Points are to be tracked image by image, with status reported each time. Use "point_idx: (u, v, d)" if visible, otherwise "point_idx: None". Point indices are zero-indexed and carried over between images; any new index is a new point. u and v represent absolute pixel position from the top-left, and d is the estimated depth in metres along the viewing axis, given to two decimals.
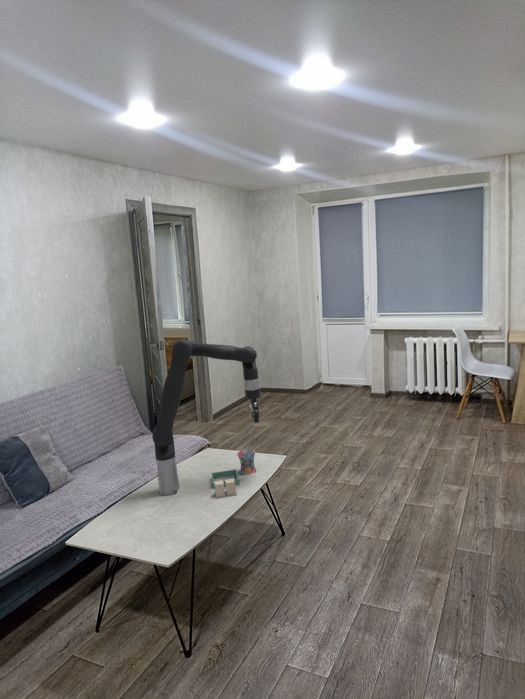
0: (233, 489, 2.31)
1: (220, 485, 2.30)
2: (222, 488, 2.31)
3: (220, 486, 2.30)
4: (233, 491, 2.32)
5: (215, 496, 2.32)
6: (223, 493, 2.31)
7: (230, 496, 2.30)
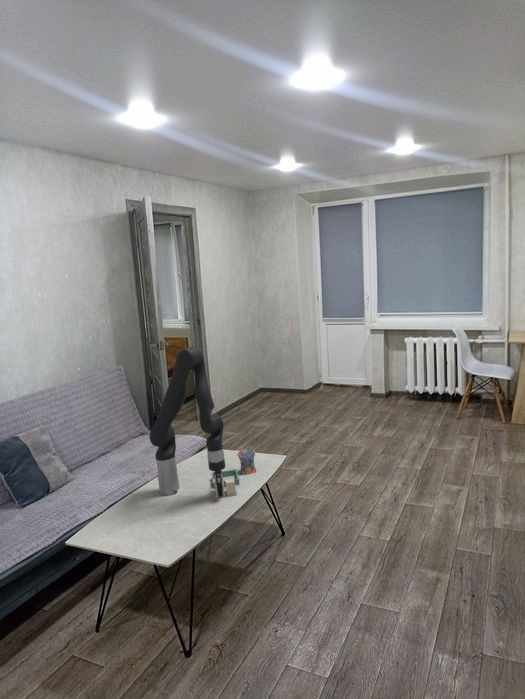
0: (233, 489, 2.31)
1: (220, 485, 2.30)
2: None
3: None
4: (233, 491, 2.32)
5: (215, 496, 2.32)
6: (223, 493, 2.31)
7: (230, 496, 2.30)
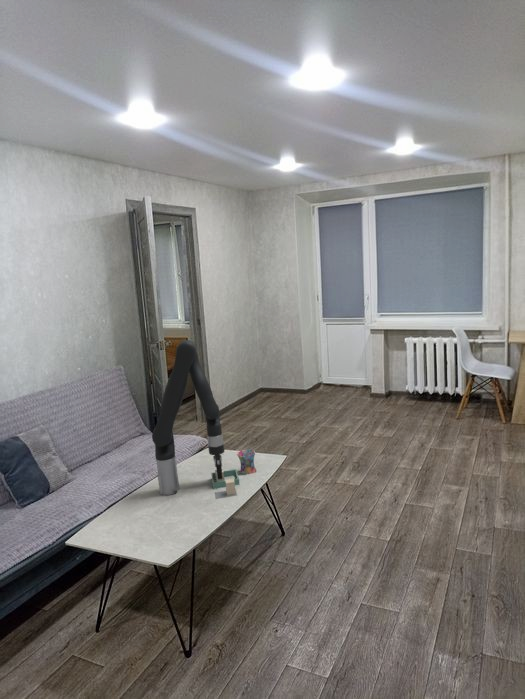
0: (233, 489, 2.31)
1: None
2: (222, 476, 2.45)
3: None
4: (233, 491, 2.32)
5: (215, 496, 2.32)
6: None
7: (230, 496, 2.30)
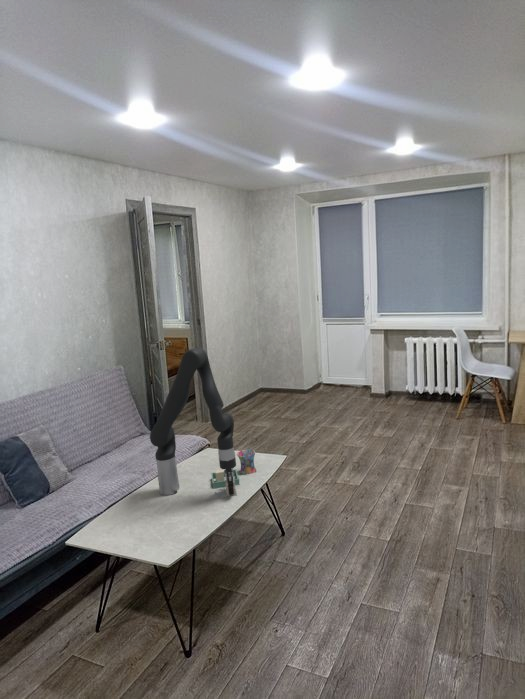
0: (233, 489, 2.31)
1: (220, 473, 2.45)
2: (222, 476, 2.45)
3: (220, 474, 2.45)
4: None
5: (215, 496, 2.32)
6: None
7: (230, 496, 2.30)
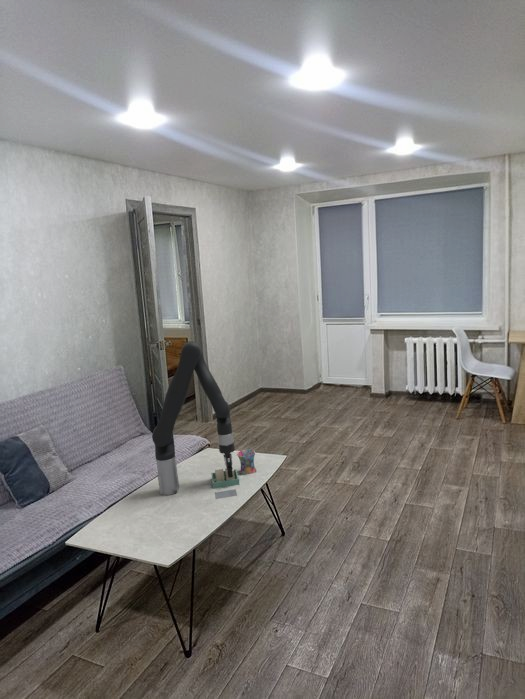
0: (232, 477, 2.46)
1: (220, 473, 2.45)
2: (222, 476, 2.45)
3: (220, 474, 2.45)
4: None
5: (215, 496, 2.32)
6: None
7: (230, 496, 2.30)
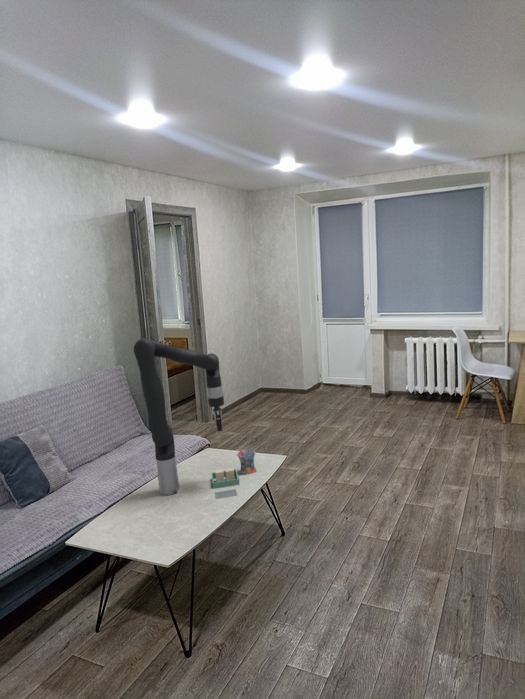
0: (232, 477, 2.46)
1: (220, 473, 2.45)
2: (222, 476, 2.45)
3: (220, 474, 2.45)
4: None
5: (215, 496, 2.32)
6: None
7: (230, 496, 2.30)
